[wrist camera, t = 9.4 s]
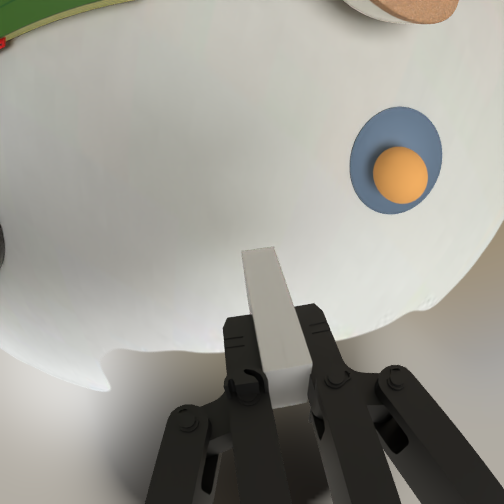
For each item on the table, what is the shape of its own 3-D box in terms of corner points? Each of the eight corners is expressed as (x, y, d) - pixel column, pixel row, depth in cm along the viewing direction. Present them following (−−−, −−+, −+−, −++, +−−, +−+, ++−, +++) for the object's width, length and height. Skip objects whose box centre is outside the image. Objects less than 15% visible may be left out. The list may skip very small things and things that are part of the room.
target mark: (346, 218, 30) (347, 219, 30) (350, 103, 24) (351, 104, 24) (432, 209, 31) (433, 209, 31) (445, 112, 24) (446, 112, 24)
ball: (359, 194, 28) (397, 218, 24) (363, 141, 25) (405, 159, 21) (396, 186, 30) (433, 207, 25) (401, 139, 27) (442, 155, 22)
